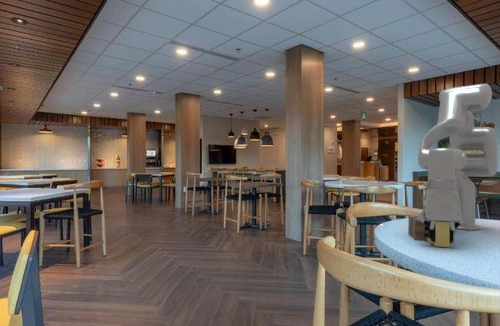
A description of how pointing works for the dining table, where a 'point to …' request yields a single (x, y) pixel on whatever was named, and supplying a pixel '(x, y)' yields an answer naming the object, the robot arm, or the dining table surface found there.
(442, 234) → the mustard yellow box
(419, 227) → the dispenser
